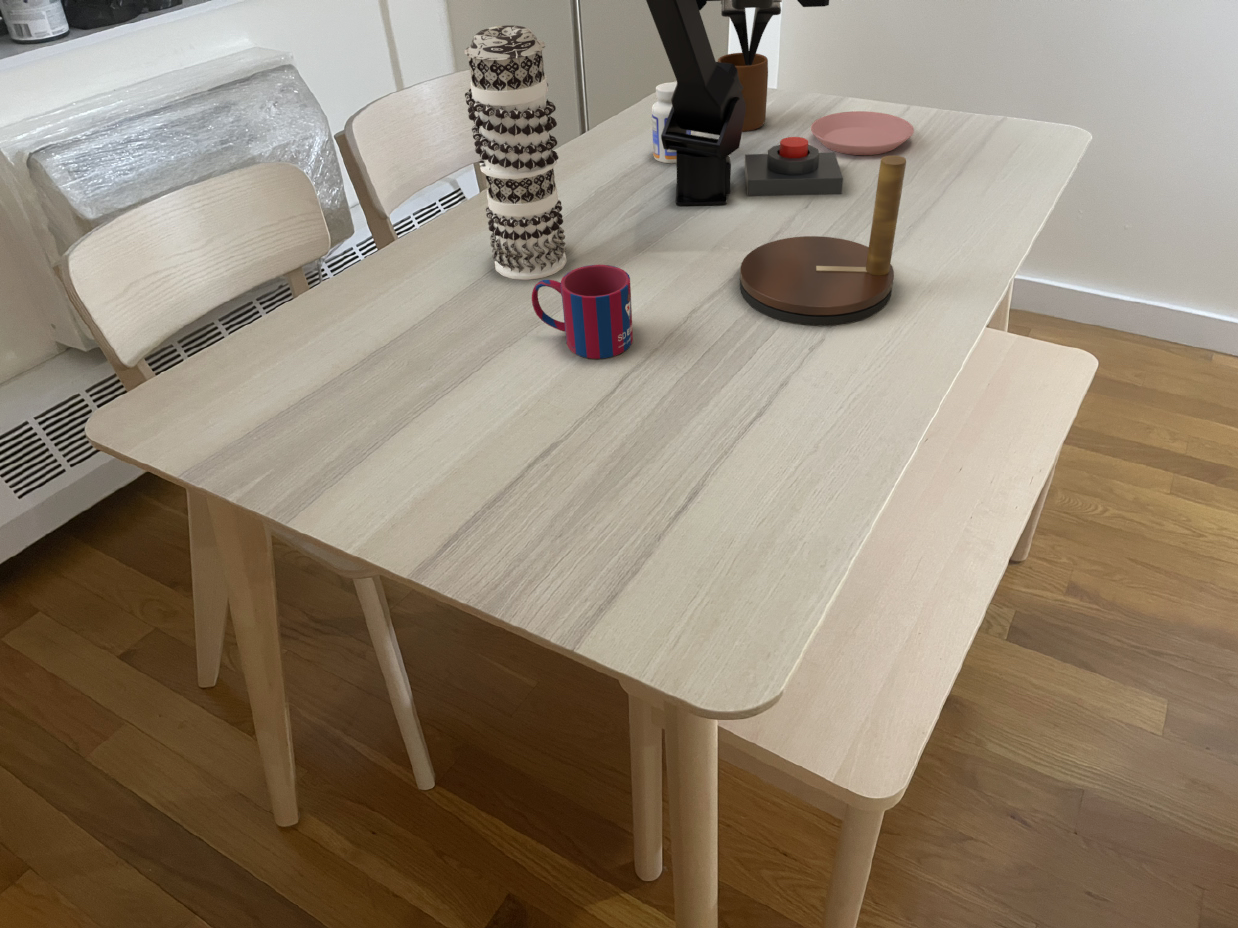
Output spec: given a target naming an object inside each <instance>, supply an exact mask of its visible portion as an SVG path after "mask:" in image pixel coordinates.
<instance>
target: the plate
mask: <svg viewBox="0 0 1238 928" xmlns="http://www.w3.org/2000/svg"><path fill="white" fill-rule="evenodd" d="M810 132H811V133H812V135H813V136H814V137H815V138H816V139H817V140H818V141H819V142H820V143H821V144H822V145H823V146H824V147H825V148H827V149H828V150H831V151H832V152H836V153H840V154H845V155H850V156H872V155H873V156H874V155H881V154H885V153H888V152H891V151H893V150H895V149H897V148H898V147H899V146H901V145H902V144H903V143H905V142H907V140H909V139H910V138H911V137H912V136H913V135H914V132H915V129H914V126H913V125H912V123H910V122H909V121H908V120H906V119H904V118H902V117H899V116H897V115H893V114H890V113H884V112H879V111H868V110H867V111H865V110H864V111H863V110H862V111H861V110H858V111H855V110H854V111H841V112H835V113H831V114H827V115H824V116H821V117H819V118H818V119H816V120H814V121H813V122H812V123H811V126H810Z"/></svg>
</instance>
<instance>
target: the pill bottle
mask: <svg viewBox="0 0 1238 928" xmlns="http://www.w3.org/2000/svg"><path fill="white" fill-rule="evenodd" d="M676 85H677V82H676V81H674V82H664V83H660V84H658V85H656V86H655V98H656V100H657V101H655V102H654V103H653V105H651V127H652V128H651V129H652V132H651V133H652V155H653V158H654V159H655V160H656V161H657V162H660V163H663V164H676V151H675V150H666V149H664V148H663V144H662V139H661V134H662V132H663V129H664V126H665V124H666V121H667V119H668V116H669V113H670V111H671V108H672V102H671V98H672V96H673V93H674V90H675V88H676ZM686 134H690V135H692V131H690V130H687V131H686Z"/></svg>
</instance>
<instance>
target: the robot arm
mask: <svg viewBox="0 0 1238 928" xmlns="http://www.w3.org/2000/svg"><path fill="white" fill-rule="evenodd" d="M645 1H646V4H647V7H648V9H649V12H650V15H651V17H652V20H653V22H654V25H655V27H656V30H657V33H658V36H659V38H660V40H661V44H662V46H663V48H664V51H665V54H666V56H667V59H668V61H669V64H670V66H671V69H672V72H673V75H674V77H675V80H676V83H677V85H676V88H675V90H674V93H673V96H672V98H671V102H672V108H671V111H670V113H669V116H668V119H667V121H666V124H665V126H664V129H663V132H662V134H661V139H662V144H663V148H664V149H666V150H675V151H676V163H675V165H676V184H675V206H681V207H682V206H720V205H721V206H723V205H727V202H728V199H727V198H728V197H727V196H729V195H730V194H731V181H732V180H731V175H732V174H731V173H732V162H731V161H732V160H731V159H732V158H731V157H730V155H732V153H734V152H736V151H737V150H739V148H740V144H741V139H742V133H743V132H742V129H743V123H744V118H745V112H746V104H745V101H744V99H743V94H742V92H741V91H742V90H743V86H742V85H741V83H740V81H739V76H738V70H737V68H736V67H735V65H734V64H730V63H722V62H717V61H716V58H715V56H714V55H715V54H714V52H713V49H712V45H711V43H710V40H709V36H708V33H707V30H706V28H705V24H704V20H703V18H702V15H701V12H700V11H701V10H702V9H704V7H705V6H706V5H707V3H708V2H720V5H721V13H720V14H721V17H725V18H729V19H730V21H731V23H732V25H733V27H734V30H735V32H736V35H737V38H738V41H739V45H740V49H741V53H742V54H743V58H744V61H745V65H746V66H748V65H749V66H751V65H752V63H753V60H754V57H755V55H756V54H757V52H758V49H759V46H760V43H761V40H762V37H763V34H764V33H765V30H766V28H767V26H768V24H769V22H770V21H771V19H772V18H773V16H779V15H781V13H782V7H781V3H782V2H783V0H645ZM796 1H797V2H798V3H799V4H800V6H801V7H802V8H819V7H821V8H823V7H828V6H830V0H796ZM752 8H753V9H754V15H753V21H752V28H751V35H750V41H749V34H748V23H747V12H746V9H752ZM687 130H690V131H691V132H697V133H703V134H709V135H714V136H718V138H714V137H707V136H702V135H696V134H691V135H690V134H686V131H687Z"/></svg>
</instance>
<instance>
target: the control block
mask: <svg viewBox="0 0 1238 928" xmlns="http://www.w3.org/2000/svg"><path fill="white" fill-rule="evenodd" d="M779 152H780V144H777V145H774V146H772V147H770V148H769V149H768V150H767V153H758V154H757V153H754V154H750V153H749V154H744V168H743V171H744V179H745V186H746V196H747V197H774V196H775V197H777V196H779V197H780V196H781V197H782V196H819V195H820V196H821V195H822V196H823V195H842V194H843V185H844V176H843V173H842V170H841V167H840V164H839V160H838V158H837V156H836V153H835V152H836V151H827V152H825V151H823V152H820V151H819V149H818V148H817V147H815V146H813V145H811V144H808V153H807V156H806V157H802V158H786V157H782V156H780V155H779Z"/></svg>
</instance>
